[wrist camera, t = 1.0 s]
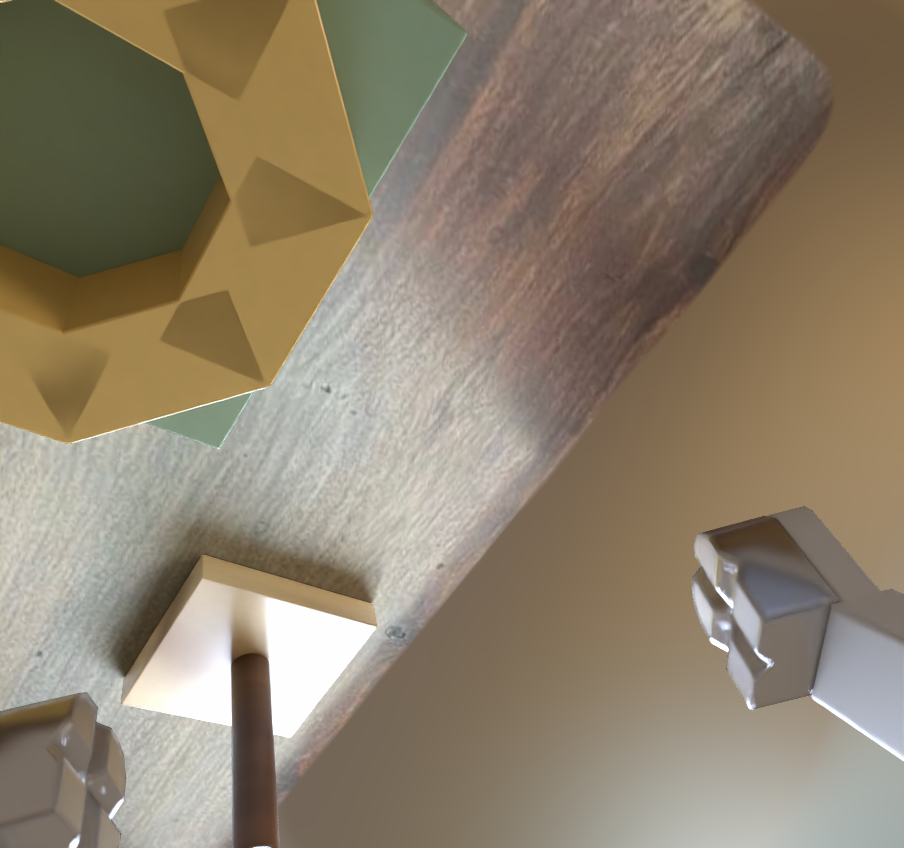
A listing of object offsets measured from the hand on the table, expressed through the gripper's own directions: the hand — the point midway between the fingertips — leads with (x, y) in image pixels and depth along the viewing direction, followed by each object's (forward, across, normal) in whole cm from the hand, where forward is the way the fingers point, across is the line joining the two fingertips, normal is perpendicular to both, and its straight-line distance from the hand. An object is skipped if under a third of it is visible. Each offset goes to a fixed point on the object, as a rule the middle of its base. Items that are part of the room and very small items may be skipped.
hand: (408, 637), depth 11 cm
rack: (+22, +8, +24) cm, 33 cm away
